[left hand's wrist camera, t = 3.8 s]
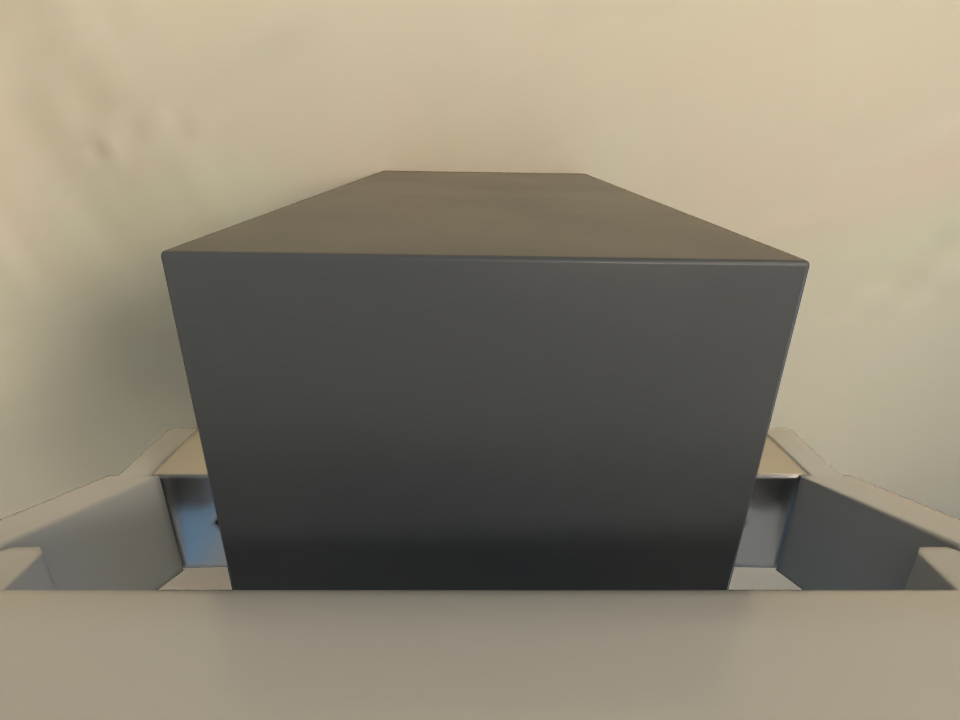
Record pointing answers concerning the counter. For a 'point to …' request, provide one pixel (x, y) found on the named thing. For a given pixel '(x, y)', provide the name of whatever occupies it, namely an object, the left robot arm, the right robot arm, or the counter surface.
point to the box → (482, 385)
